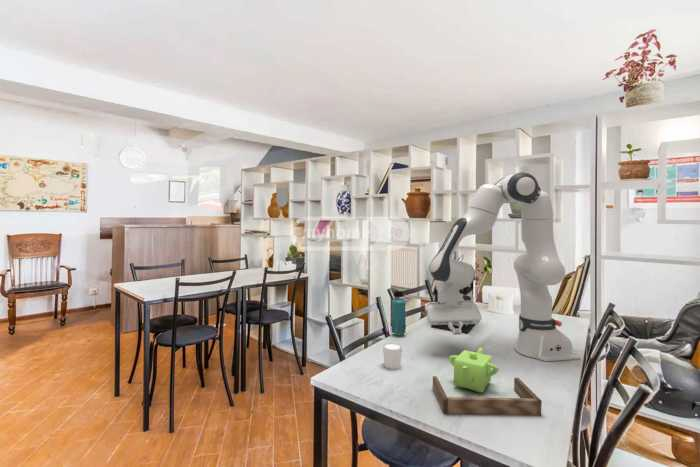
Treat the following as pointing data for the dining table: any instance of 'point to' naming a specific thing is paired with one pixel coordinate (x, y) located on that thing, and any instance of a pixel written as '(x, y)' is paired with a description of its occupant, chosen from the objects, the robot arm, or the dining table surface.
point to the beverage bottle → (398, 314)
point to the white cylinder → (392, 355)
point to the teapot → (473, 370)
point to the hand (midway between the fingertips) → (457, 333)
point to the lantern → (465, 327)
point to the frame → (490, 402)
